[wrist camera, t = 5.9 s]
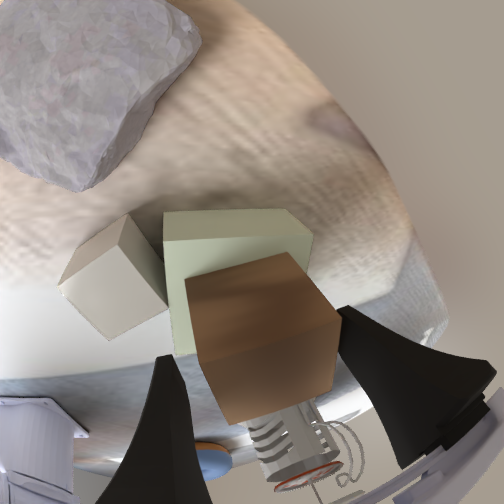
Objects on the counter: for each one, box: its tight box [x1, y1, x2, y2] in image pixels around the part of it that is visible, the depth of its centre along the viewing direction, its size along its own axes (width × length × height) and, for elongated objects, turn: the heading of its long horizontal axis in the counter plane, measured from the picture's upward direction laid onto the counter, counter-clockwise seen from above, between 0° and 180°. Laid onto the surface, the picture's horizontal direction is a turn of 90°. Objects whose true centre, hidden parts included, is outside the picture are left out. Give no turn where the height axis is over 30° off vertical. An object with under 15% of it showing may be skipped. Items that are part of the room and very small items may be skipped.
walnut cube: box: [184, 252, 342, 425], centre depth 12 cm, size 5×5×5 cm
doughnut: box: [195, 442, 233, 481], centre depth 27 cm, size 10×10×5 cm
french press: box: [237, 397, 365, 504], centre depth 17 cm, size 10×12×25 cm
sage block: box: [163, 209, 314, 355], centre depth 16 cm, size 7×7×4 cm
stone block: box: [0, 0, 202, 192], centre depth 8 cm, size 12×5×10 cm
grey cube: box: [56, 213, 169, 341], centre depth 13 cm, size 4×4×4 cm
